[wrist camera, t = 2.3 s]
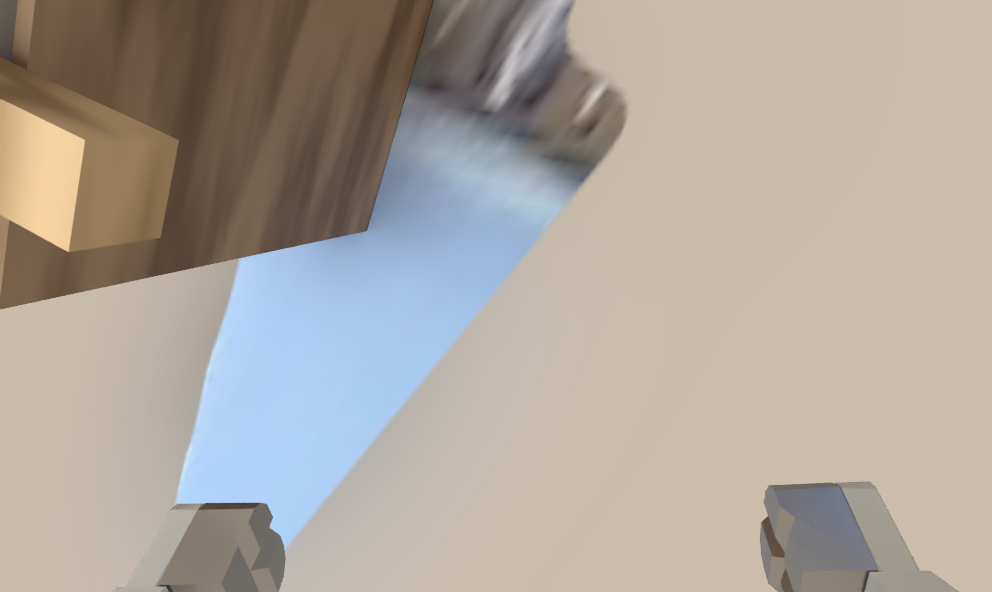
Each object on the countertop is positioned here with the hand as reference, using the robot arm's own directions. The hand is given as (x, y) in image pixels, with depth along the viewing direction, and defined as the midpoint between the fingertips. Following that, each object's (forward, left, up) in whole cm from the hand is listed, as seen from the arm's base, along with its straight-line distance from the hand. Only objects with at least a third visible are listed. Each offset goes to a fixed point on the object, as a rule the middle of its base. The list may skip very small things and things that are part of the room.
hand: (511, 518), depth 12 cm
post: (+12, -21, -33) cm, 41 cm away
